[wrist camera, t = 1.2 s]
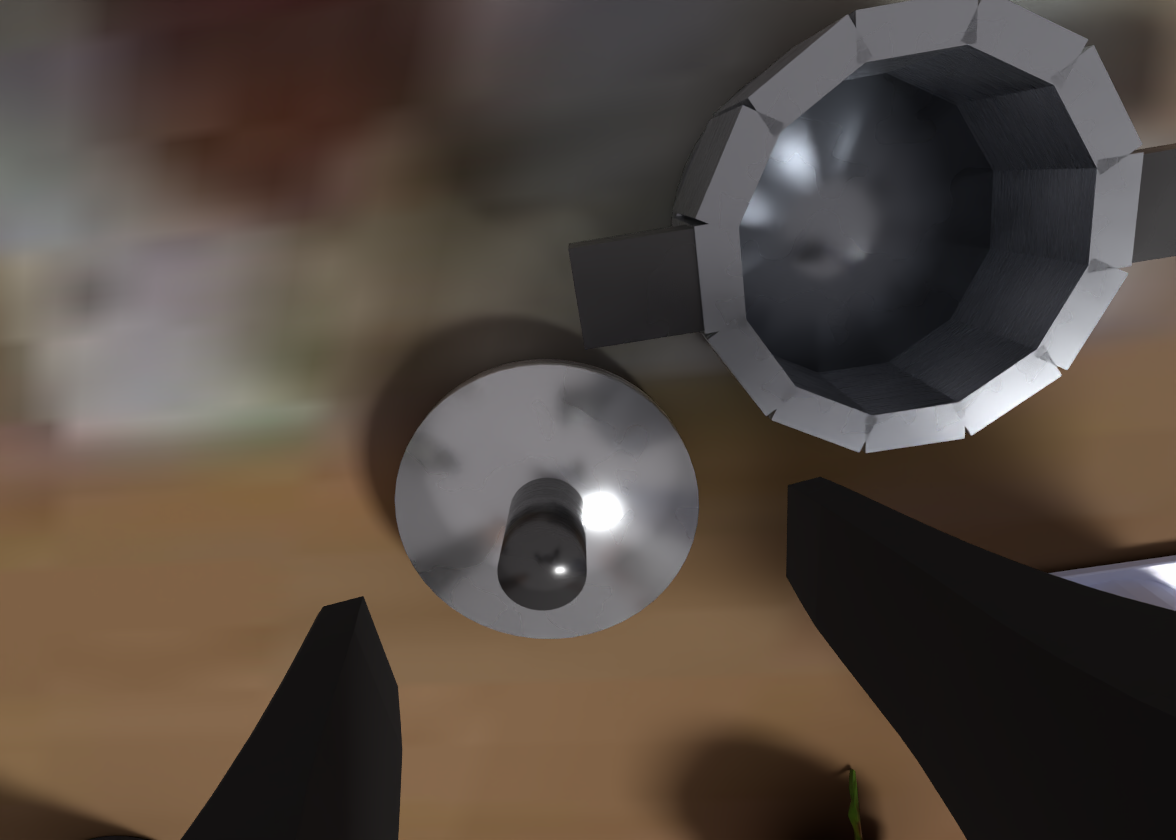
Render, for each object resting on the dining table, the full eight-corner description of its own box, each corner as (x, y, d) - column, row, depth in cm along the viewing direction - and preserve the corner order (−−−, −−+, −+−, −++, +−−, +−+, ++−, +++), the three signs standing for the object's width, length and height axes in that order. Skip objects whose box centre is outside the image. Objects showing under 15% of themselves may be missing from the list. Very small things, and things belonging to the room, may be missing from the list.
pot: (1221, 330, 21) (1403, 372, 17) (601, 425, 22) (608, 492, 18) (1279, -33, 18) (1524, -108, 13) (547, 94, 19) (538, 66, 14)
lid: (703, 587, 25) (735, 690, 20) (444, 624, 25) (410, 735, 20) (672, 329, 21) (701, 374, 16) (376, 376, 22) (316, 434, 17)
